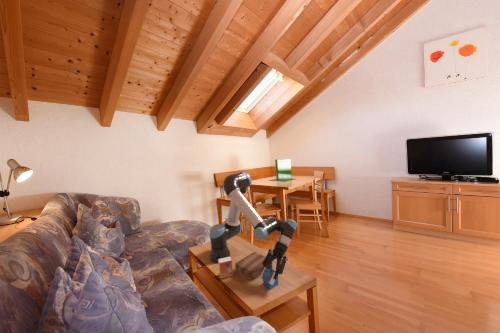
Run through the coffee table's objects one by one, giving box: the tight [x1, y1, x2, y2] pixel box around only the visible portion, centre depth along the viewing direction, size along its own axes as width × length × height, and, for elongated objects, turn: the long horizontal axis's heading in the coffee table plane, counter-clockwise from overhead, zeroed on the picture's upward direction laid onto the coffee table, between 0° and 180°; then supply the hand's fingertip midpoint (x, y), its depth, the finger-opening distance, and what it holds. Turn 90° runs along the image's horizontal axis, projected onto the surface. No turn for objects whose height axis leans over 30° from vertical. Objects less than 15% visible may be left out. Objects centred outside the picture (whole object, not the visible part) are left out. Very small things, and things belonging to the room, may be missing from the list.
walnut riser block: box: [234, 251, 273, 281], centre depth 145 cm, size 16×18×6 cm
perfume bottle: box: [262, 263, 279, 291], centre depth 127 cm, size 6×6×12 cm
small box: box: [217, 255, 234, 279], centre depth 141 cm, size 8×6×10 cm
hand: (266, 281), depth 125 cm, fingers open, 7 cm apart
